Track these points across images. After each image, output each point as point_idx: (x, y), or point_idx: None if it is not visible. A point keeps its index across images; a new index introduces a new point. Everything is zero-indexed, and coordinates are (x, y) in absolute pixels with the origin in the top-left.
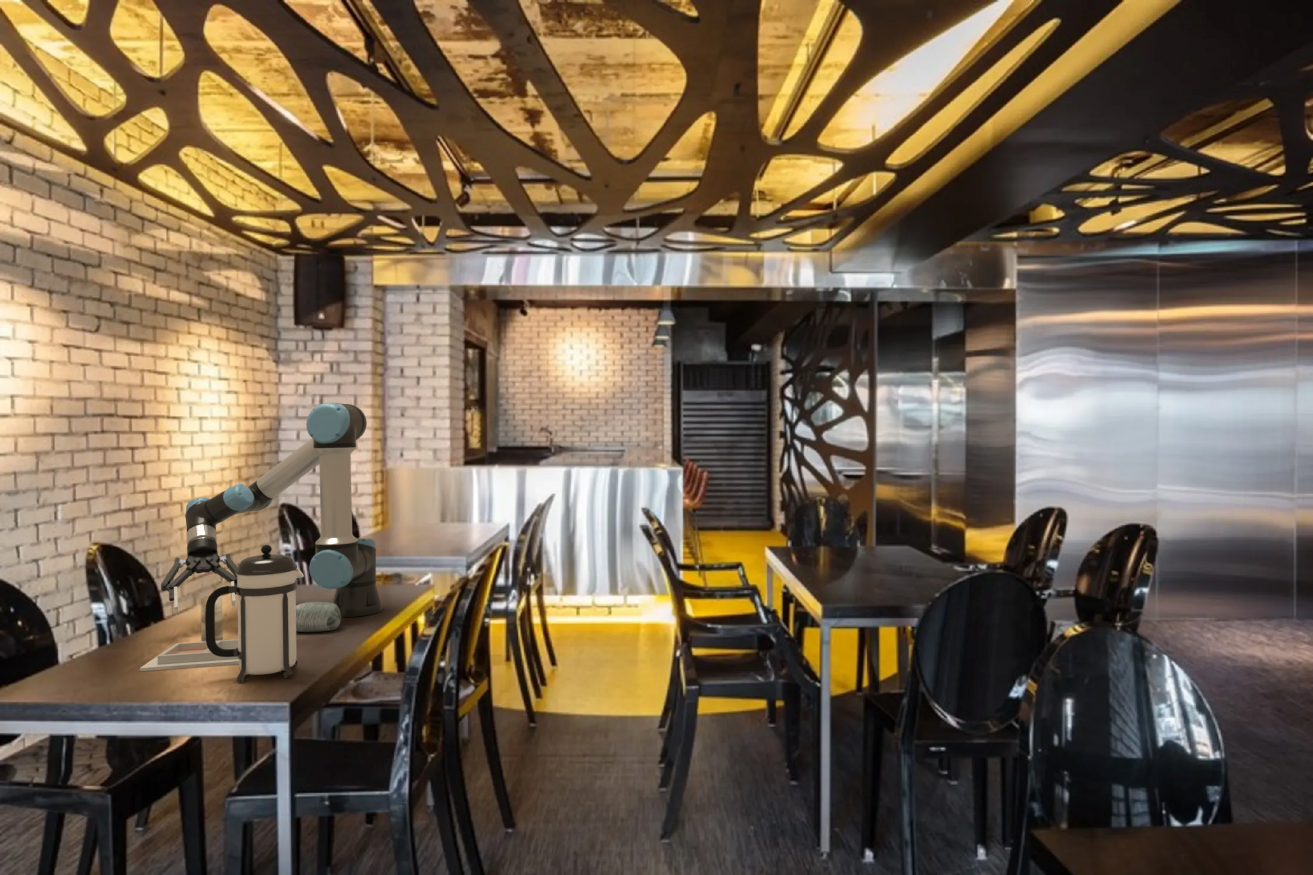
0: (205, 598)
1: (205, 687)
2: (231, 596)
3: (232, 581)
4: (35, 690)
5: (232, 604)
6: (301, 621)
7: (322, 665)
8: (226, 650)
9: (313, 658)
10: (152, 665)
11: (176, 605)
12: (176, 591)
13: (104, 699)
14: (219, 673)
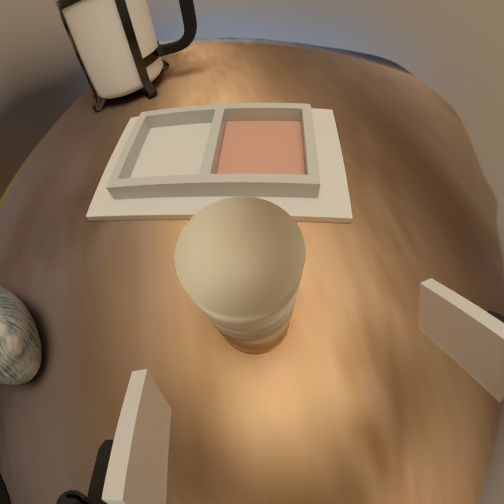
0: (268, 222)
1: (203, 60)
2: (156, 433)
3: (111, 497)
4: (423, 95)
5: (161, 398)
6: (13, 295)
7: (71, 113)
8: (172, 42)
9: (67, 137)
10: (316, 115)
11: (429, 284)
12: (495, 329)
13: (310, 51)
14: (191, 89)
